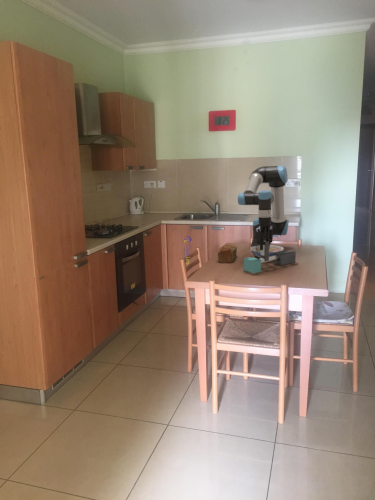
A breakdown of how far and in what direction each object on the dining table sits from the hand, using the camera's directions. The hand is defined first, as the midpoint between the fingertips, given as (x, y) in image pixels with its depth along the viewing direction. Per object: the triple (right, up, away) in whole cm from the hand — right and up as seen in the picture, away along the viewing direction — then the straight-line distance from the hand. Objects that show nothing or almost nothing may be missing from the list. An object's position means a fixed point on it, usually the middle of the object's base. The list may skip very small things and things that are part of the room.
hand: (264, 254), depth 241 cm
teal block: (-8, -10, -3) cm, 13 cm away
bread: (-20, -4, +31) cm, 37 cm away
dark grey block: (+15, -6, +11) cm, 19 cm away
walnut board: (+5, -9, +5) cm, 11 cm away
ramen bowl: (+7, -3, +29) cm, 30 cm away
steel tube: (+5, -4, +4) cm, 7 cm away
